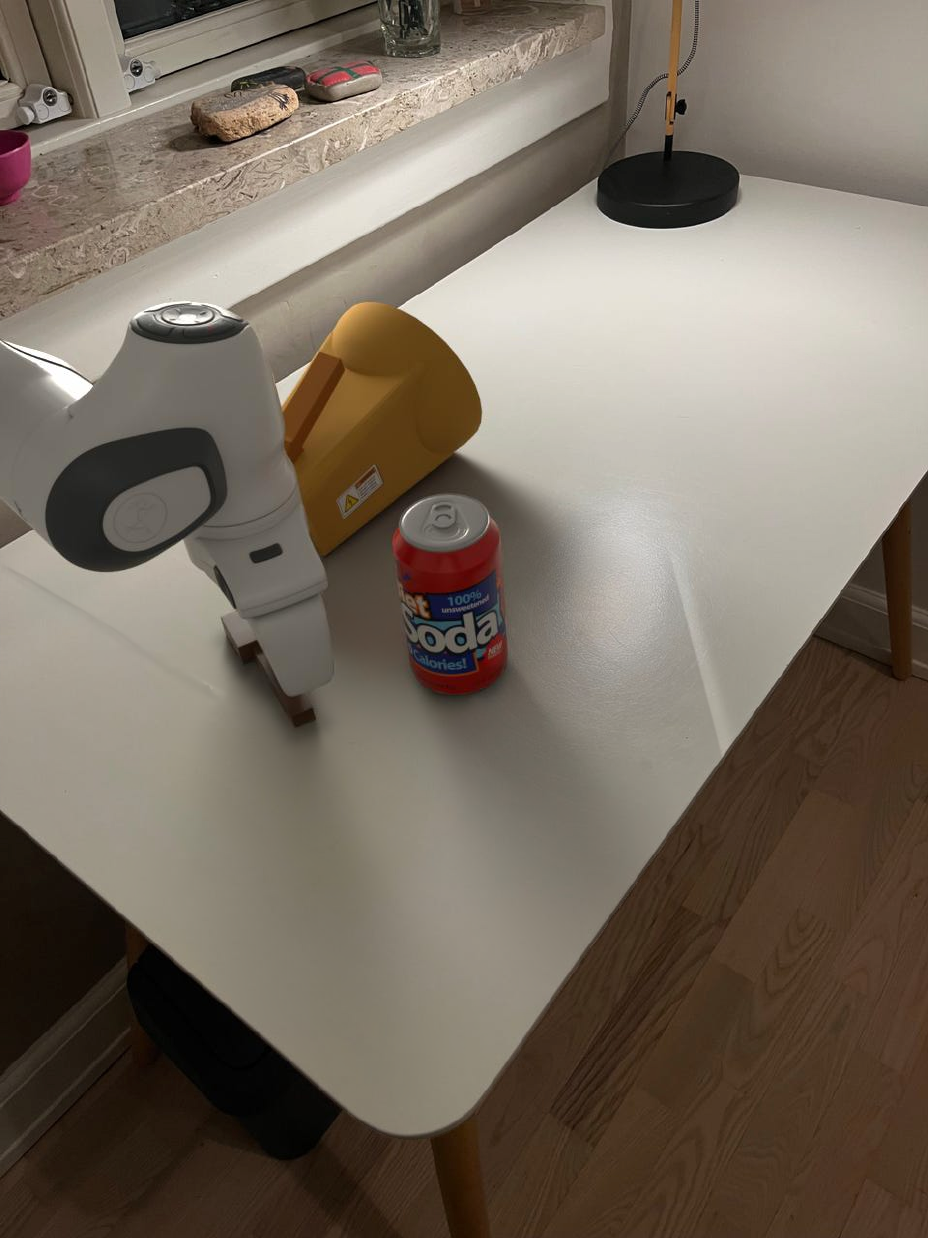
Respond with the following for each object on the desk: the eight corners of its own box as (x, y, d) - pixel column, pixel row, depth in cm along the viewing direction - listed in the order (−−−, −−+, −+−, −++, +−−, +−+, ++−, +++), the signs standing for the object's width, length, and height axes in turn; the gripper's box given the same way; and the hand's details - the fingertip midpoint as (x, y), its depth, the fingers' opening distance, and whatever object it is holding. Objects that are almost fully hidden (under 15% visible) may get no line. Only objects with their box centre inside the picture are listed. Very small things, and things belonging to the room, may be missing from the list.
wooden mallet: (329, 713, 80) (325, 696, 79) (281, 734, 79) (276, 717, 78) (269, 616, 89) (264, 599, 88) (225, 633, 88) (220, 616, 87)
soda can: (505, 629, 86) (497, 482, 76) (510, 699, 80) (502, 551, 70) (412, 635, 86) (390, 490, 76) (410, 705, 80) (387, 558, 70)
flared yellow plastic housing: (369, 413, 111) (317, 278, 97) (497, 460, 103) (460, 320, 89) (251, 545, 104) (175, 418, 90) (379, 606, 96) (318, 478, 82)
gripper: (163, 463, 80) (206, 595, 89) (244, 619, 66) (284, 755, 76) (240, 439, 82) (274, 571, 91) (335, 585, 68) (363, 722, 77)
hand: (280, 656), depth 83 cm, fingers closed
